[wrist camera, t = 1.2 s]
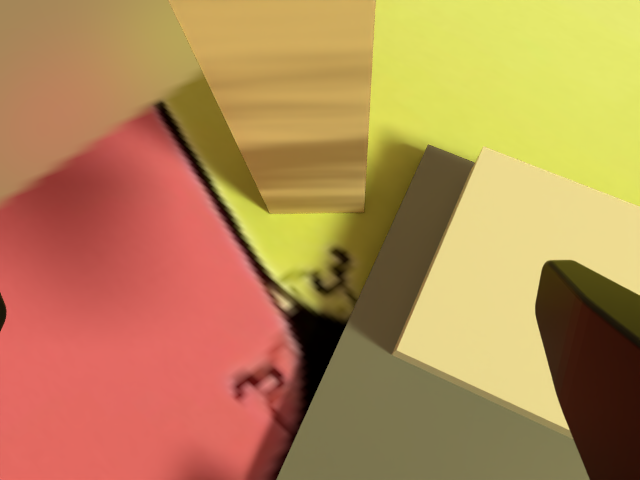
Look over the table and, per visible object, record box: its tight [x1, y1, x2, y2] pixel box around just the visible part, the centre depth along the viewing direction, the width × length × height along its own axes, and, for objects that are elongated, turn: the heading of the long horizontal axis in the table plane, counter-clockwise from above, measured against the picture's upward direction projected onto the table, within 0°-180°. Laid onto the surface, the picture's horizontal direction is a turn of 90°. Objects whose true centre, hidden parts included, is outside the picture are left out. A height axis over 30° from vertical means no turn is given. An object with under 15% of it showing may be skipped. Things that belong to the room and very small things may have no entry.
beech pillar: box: [168, 0, 376, 214], centre depth 17 cm, size 4×4×14 cm
